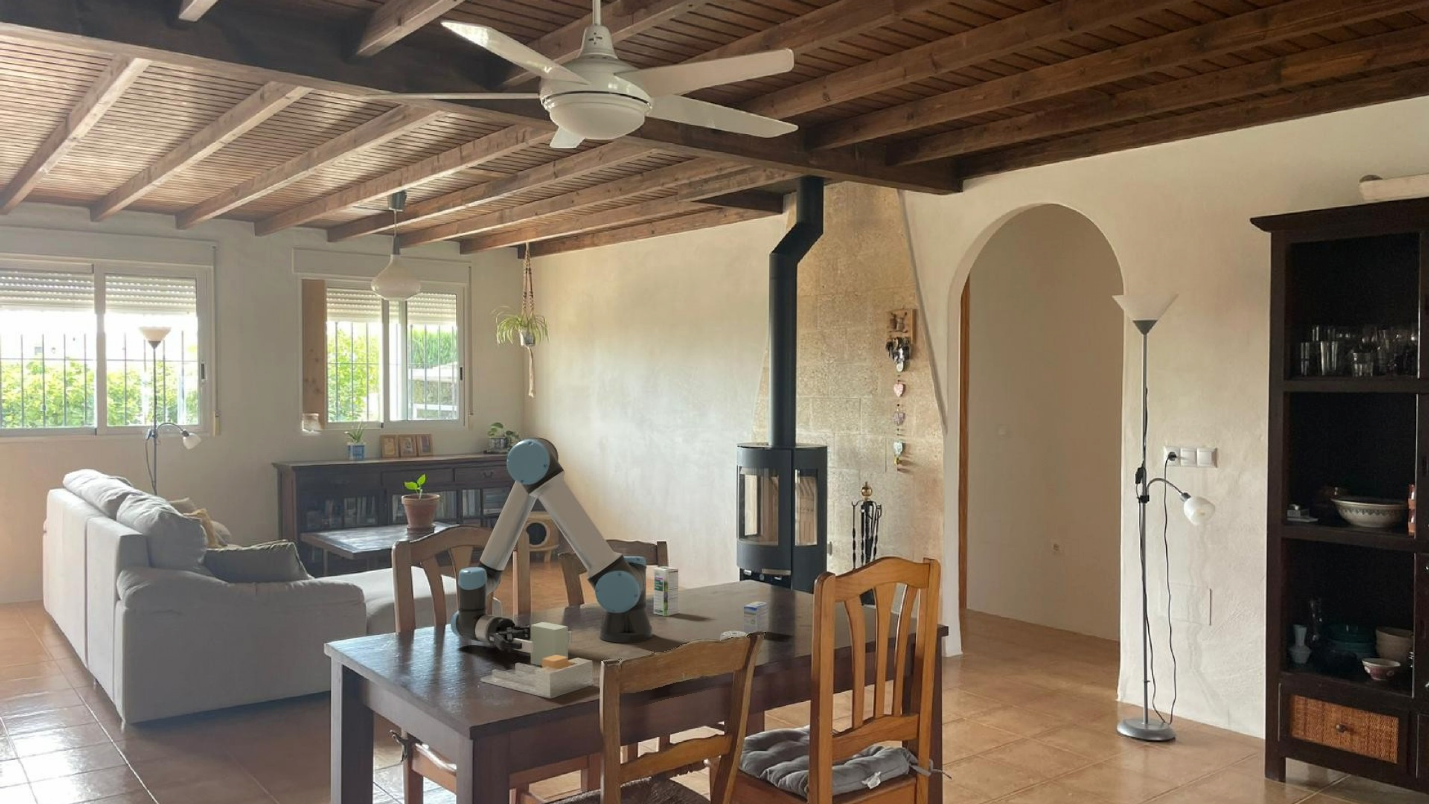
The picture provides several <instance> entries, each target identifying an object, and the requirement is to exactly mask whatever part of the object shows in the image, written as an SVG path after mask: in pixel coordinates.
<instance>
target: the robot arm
mask: <svg viewBox="0 0 1429 804" xmlns="http://www.w3.org/2000/svg"><path fill="white" fill-rule="evenodd" d="M506 469H507V472H508V473H509V475H510V477H511V478H512V479H513V480H514V481H515V482H514V484H513V486H512V488H511V490H510V492H509V494H508V497H507V498H506V500H505V504H504V505H503V506H502V507H503V508H502V509H501V512H500V513H499V517H498V518H497V521H496V523H495V525H494V527H493V530H492V532H491V534H490V536H489V538H488V541H487V543H486V545H485V547H484V549H483V551H482V554H481V556H480V558H479V561H478V563H477V564H476V566H475V567H473V566H472V567H466V568H461V569H460V570H459V572H458V581H457V583H458V584H457V585H458V610H457V611H456V612H455V613H454V614H453V616H452V619H451V621H450V628H451V631H452V633H453V634H454V635H455V636H456V637H459V638H461V639H462V638H463V639H464V640H469V641H476V642H480V643H485V644H487V645H488V646H491V645H493V646H495V647H496V648H498V649H499V650H500V651H504V652H505V651H506V649H507V653H513V651H514V650H515V651H519V652H523V653H528V654H531V653H533V642H531V625H532V624H529V623H526V624H525V625H523V626H522V625H520V624H519V625H516V623H515V622H514V621H513V620H512V619H511V618H507V617H502V616H499V615H493V614H488V613H487V612H488V611H487V609H488V607H487V606H488V601H487V596H489V594H491V593H493V592H495V591H496V590H497V589H498V587H499V586H500V585H501V582H502V576H503V572H504V570H505V568H506V566H507V564H508V562H509V559H510V557H511V555H512V552H513V551H514V549H515V546H516V544H517V542H518V541H519V538H520V535H521V534H522V531H523V529H524V527H525V525H526V522H527V521H528V518H529V516H530V514H531V511H532V510H533V507H534V505H535V503H536V501H537V500H539V501H540V503H541V505H542V506H543V507H544V509H545V510H546V512H547V514H548V515H549V516H550V518H551V519H552V522H554V524H555V525H556V526H557V528H558V530H559V531H560V532H561V534H562V536H563V537H564V539H565V540H566V541H567V543H568V545H570V547H571V549H572V550H573V551H574V553H575V554H576V556H577V557H578V559H579V560H580V561H581V562H582V565H583V566H584V567H585V569H586V571H587V572H586V578H585V579H586V580H587V581H588V583H589V584H590V587H592V589H593V591H594V595H595V599H596V602H597V603H598V604H599V606H600V607H601V608H602V609H603V610H604V613H603V617H602V619H601V624H600V625H601V626H600V627H599V630H598V631H599V634H598V637H599V639H601V640H602V641H603V640H604V641H606V642H613V643H637V642H642V641H646V640H649V639H650V638H652V637H653V626H652V625H651V621H650V618H649V615H648V610H647V567H648V566H647V562H646V561H647V560H646V558H645V557H644V556H635V555H634V556H633V555H623V554H622V552H616V551H614V550H613V549H612V547H611V546H610V544H609V543H608V542H607V540H606V539H605V538H604V536H603V534H602V533H601V531H600V530H599V529H598V527H597V526H596V524H595V522H594V521H593V520H592V519H591V517H590V516H589V514H588V512H586V509H584V507H583V505H582V504H581V503H580V501H579V500H578V498H577V497H576V495H575V494H574V493H573V491H572V489H571V488H570V486H569V485H568V483H567V482H566V481H565V472H566V471H565V470H564V468H563V467H562V464H561V463H560V462H559V452H558V450H557V447H556V446H555V444H553V443H552V441H550V440H548V439H547V438H544V437H532V438H526V439H523V440H521V441H519V442H517V443H516V444H515V445H513V447H511V449H510V450H509V452H508V454H507V457H506ZM572 634H573V633H572V631H568V644H570V643H573V639H572V638H573V636H572ZM526 635H527V636H526Z"/></svg>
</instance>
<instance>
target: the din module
mask: <svg viewBox="0 0 1429 804" xmlns="http://www.w3.org/2000/svg"><path fill="white" fill-rule="evenodd" d="M530 625H531V638H530V641H531V642H533V653H530V664H531V665H537V666H540V667H542V659H543V658H546V657H550V656H553V655H560V656H564V657H568V658H569V642H568V630H569V627H568V626H566V625H561V624H556V623H552V622H546V621H541V622H538V623H534V624H530Z"/></svg>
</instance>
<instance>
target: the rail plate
mask: <svg viewBox="0 0 1429 804" xmlns="http://www.w3.org/2000/svg"><path fill="white" fill-rule="evenodd" d="M514 665H515V666H514V668H511V669H510V668H509V669H508V670H500V669H497V668H496V669H492V670H491V674H490V675H486V676H483V677H480V682H483V683H486V684H490V685H495V686H498V687H502V688H506V689H510V690H514V691H517V692H522V693H526V694H530V695H533V696H534V695H535V696H538V697H541V698H545V699H549V700H551V699H553V698H557V697H561V696H563V695H566V694H569V693H572V692H575V691H578V690H582V689H584V688H588V687H591V686H593V685H594V684H593V660H589V659H586V658H582V657H581V658H580V657H575V658H572V659H568V667H565V668H562V669H556V668H552V667H548V666H547V667H544V668H542V667H538V666H534V665H532V664H531V665H530V664H526V663H521V662H517V663H515V664H514Z"/></svg>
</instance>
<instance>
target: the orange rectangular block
mask: <svg viewBox="0 0 1429 804" xmlns="http://www.w3.org/2000/svg"><path fill="white" fill-rule="evenodd" d="M568 660H569V656H568V657H564V656H560V655H553V656H550V657H546V658H543V659H542V666H541V668H544V667H547V666H548V667H552V668H556V669H562V668H565V667H568Z"/></svg>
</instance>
